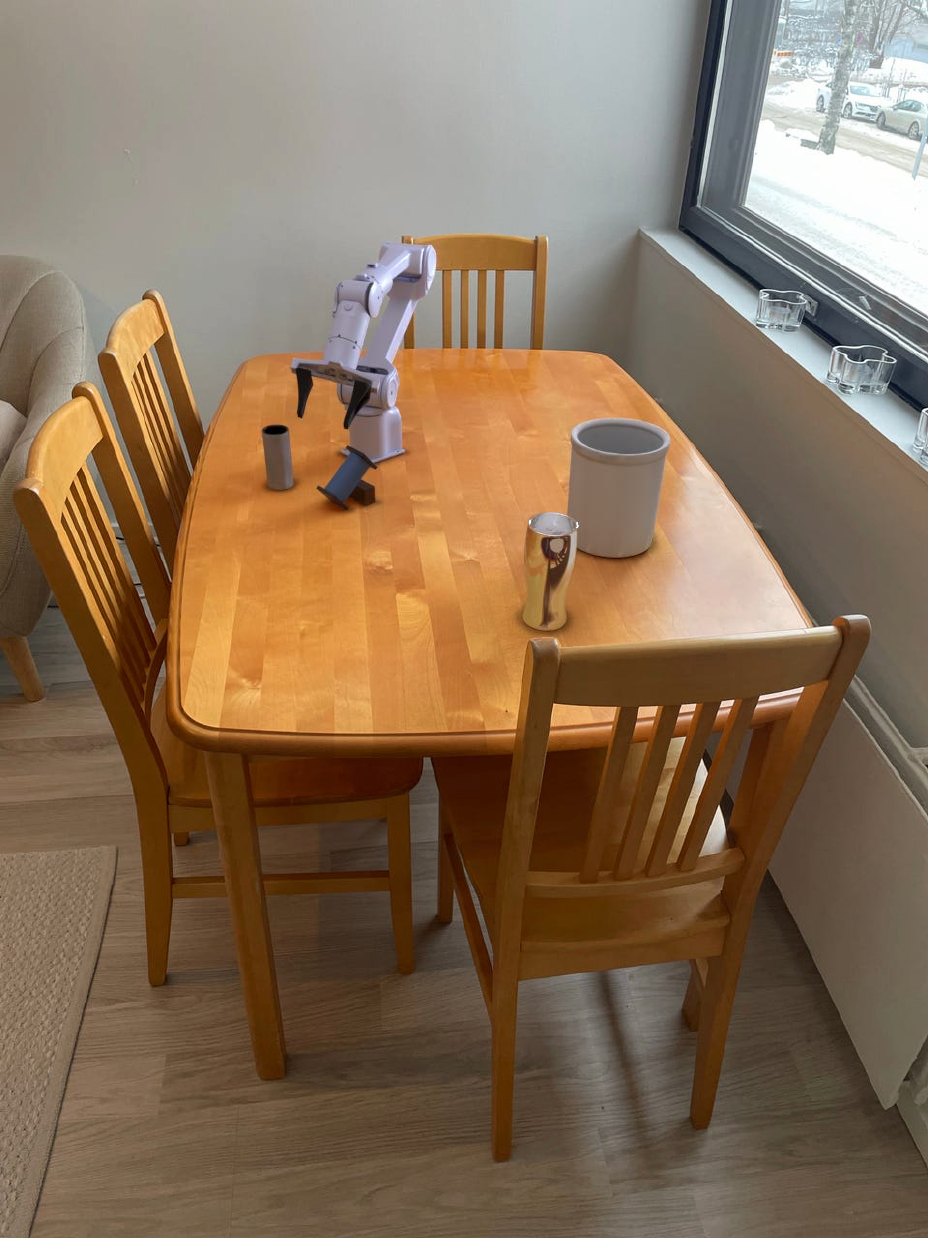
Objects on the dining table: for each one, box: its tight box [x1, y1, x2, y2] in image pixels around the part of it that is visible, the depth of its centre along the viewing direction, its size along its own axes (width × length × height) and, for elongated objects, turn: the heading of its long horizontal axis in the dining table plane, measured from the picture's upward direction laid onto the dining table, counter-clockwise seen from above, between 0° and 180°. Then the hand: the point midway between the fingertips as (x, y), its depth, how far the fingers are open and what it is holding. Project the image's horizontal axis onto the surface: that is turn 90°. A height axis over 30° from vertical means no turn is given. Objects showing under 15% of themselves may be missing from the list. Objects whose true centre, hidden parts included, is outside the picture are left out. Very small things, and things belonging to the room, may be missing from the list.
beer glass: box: [522, 511, 578, 632], centre depth 123 cm, size 7×7×15 cm
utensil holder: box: [566, 417, 671, 559], centre depth 142 cm, size 15×15×18 cm
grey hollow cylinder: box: [261, 424, 295, 491], centre depth 157 cm, size 4×4×10 cm
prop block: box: [348, 478, 376, 507], centre depth 155 cm, size 2×6×3 cm, turn 44°
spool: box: [315, 444, 378, 511], centre depth 152 cm, size 10×4×9 cm, turn 133°
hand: (322, 421), depth 148 cm, fingers open, 7 cm apart
